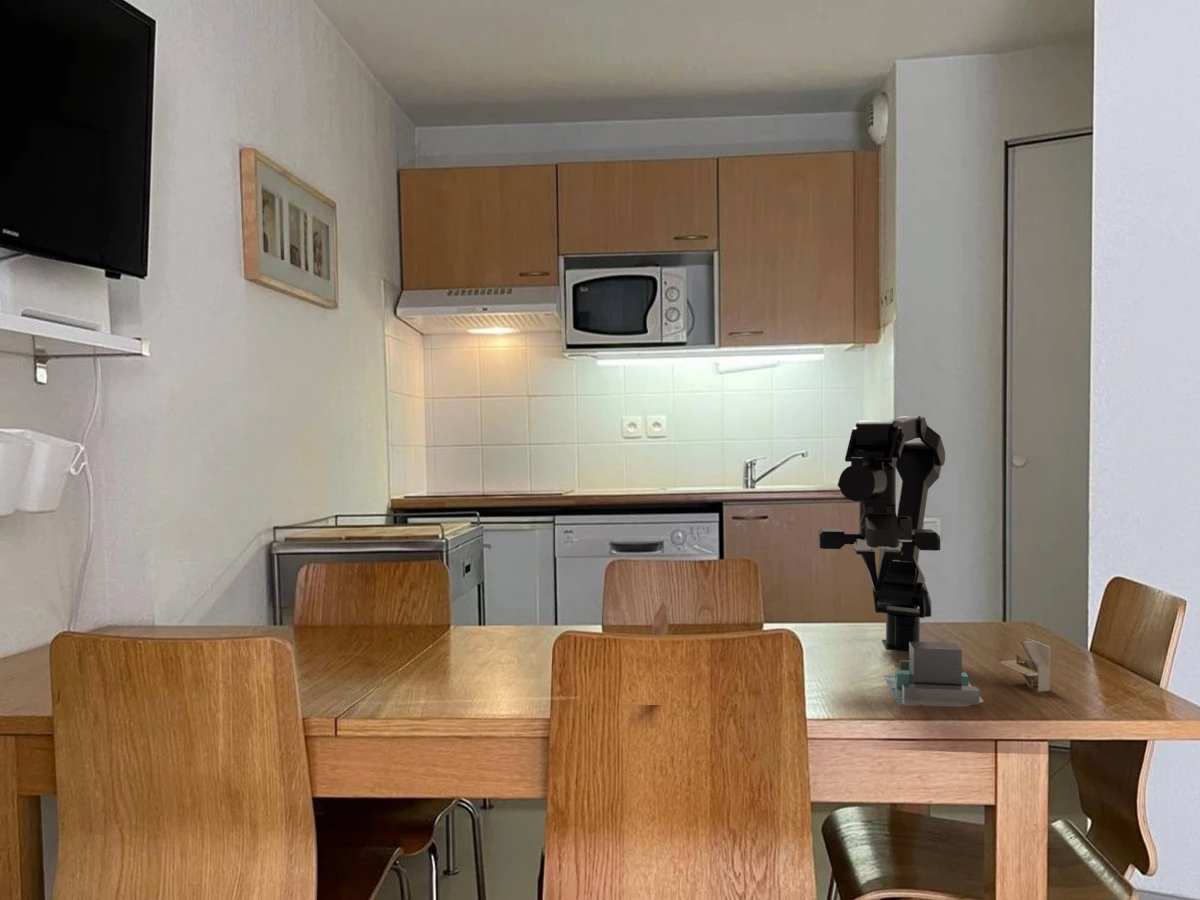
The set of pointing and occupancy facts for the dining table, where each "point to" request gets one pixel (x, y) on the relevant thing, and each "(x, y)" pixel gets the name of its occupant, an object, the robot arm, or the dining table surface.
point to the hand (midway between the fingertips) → (877, 591)
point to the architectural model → (1033, 665)
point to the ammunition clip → (660, 621)
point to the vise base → (933, 694)
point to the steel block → (935, 663)
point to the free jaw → (903, 675)
